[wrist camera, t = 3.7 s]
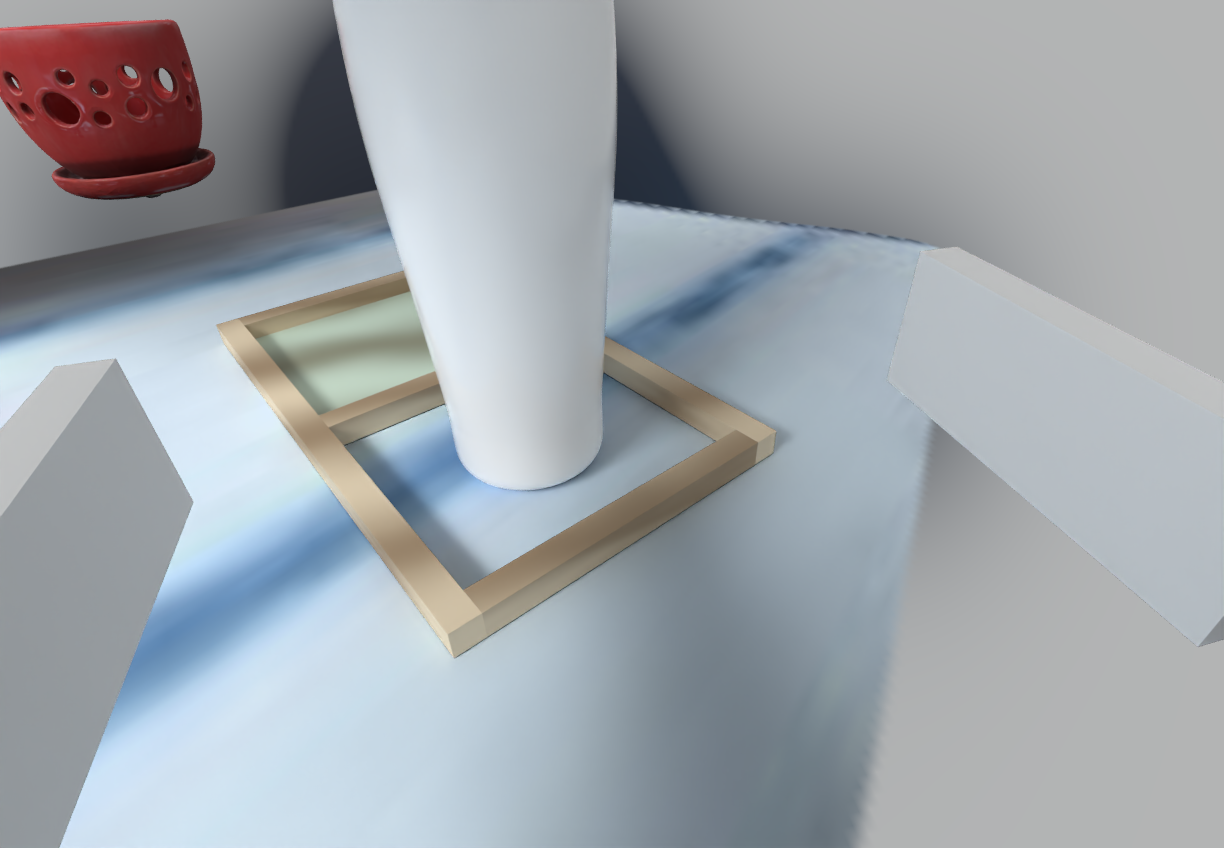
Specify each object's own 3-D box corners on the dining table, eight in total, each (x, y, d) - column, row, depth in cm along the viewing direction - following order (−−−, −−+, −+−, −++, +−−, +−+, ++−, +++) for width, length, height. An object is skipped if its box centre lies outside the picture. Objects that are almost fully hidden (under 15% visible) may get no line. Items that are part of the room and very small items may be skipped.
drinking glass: (440, 411, 26) (341, -46, 17) (604, 391, 27) (589, -53, 18) (436, 528, 21) (289, -50, 12) (641, 497, 22) (644, -59, 13)
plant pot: (260, 178, 56) (206, 15, 49) (92, 220, 48) (-2, 30, 41) (188, 158, 63) (131, 12, 56) (28, 193, 54) (-62, 25, 47)
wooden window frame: (223, 343, 31) (216, 324, 31) (460, 271, 38) (458, 254, 37) (454, 658, 17) (447, 634, 16) (772, 452, 24) (776, 430, 23)
